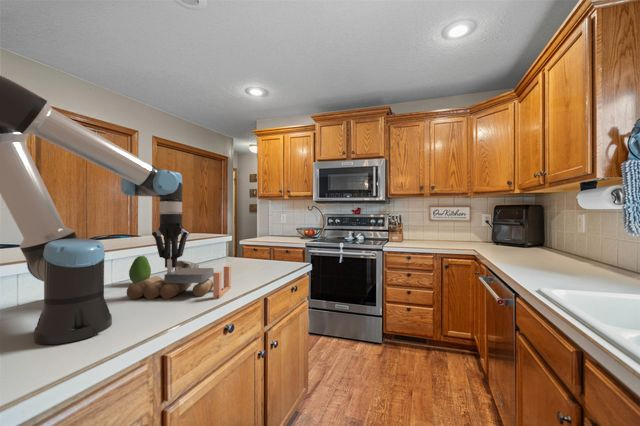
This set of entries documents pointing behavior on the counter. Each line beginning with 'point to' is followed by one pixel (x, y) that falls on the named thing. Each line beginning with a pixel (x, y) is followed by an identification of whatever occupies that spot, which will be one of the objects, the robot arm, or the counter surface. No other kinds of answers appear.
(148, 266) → the fruit
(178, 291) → the brown bread rolls
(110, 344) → the counter surface
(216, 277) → the wooden u-shaped block
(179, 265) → the rock
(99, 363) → the counter surface
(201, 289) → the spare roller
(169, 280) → the slab
